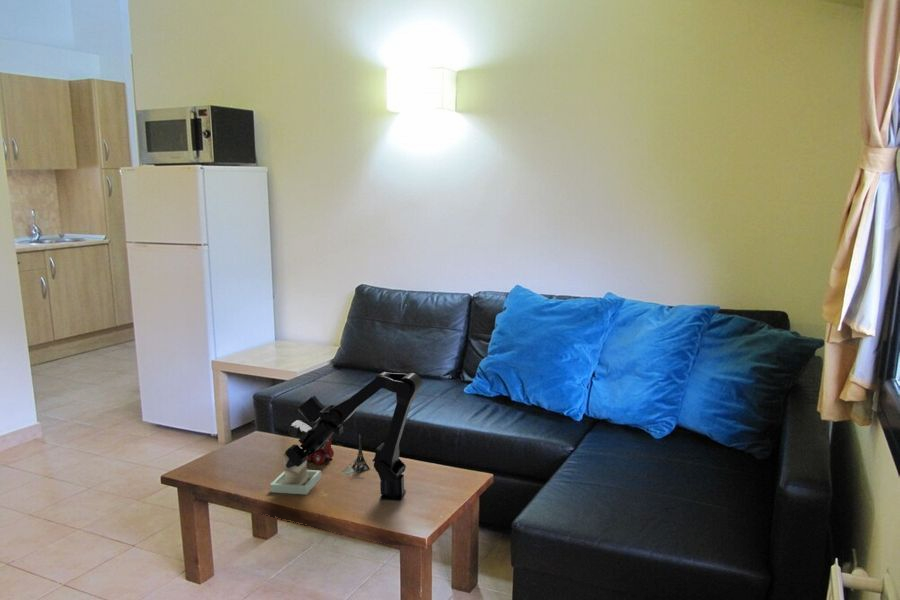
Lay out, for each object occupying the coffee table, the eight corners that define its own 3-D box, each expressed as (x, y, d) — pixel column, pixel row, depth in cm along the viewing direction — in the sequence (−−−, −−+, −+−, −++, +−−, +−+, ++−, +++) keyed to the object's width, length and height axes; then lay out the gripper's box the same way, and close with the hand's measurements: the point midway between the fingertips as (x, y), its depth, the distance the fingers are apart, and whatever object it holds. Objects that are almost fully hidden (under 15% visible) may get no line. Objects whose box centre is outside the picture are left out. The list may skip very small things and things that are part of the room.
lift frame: (321, 477, 219) (320, 470, 219) (306, 494, 207) (306, 486, 207) (286, 475, 222) (286, 468, 221) (270, 492, 209) (270, 484, 209)
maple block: (307, 480, 216) (305, 448, 215) (299, 487, 211) (297, 454, 209) (293, 478, 218) (291, 446, 216) (285, 485, 212) (283, 453, 211)
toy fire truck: (309, 453, 241) (308, 426, 239) (337, 459, 235) (336, 430, 234) (297, 460, 235) (295, 432, 233) (326, 466, 229) (324, 437, 228)
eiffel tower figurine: (355, 460, 236) (354, 423, 233) (382, 462, 233) (381, 426, 231) (336, 477, 221) (334, 438, 219) (364, 480, 218) (363, 441, 216)
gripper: (317, 405, 219) (288, 434, 223) (289, 423, 201) (258, 455, 205) (340, 429, 218) (311, 459, 222) (314, 450, 200) (283, 482, 205)
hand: (291, 463), depth 214 cm, fingers closed on maple block, 5 cm apart
